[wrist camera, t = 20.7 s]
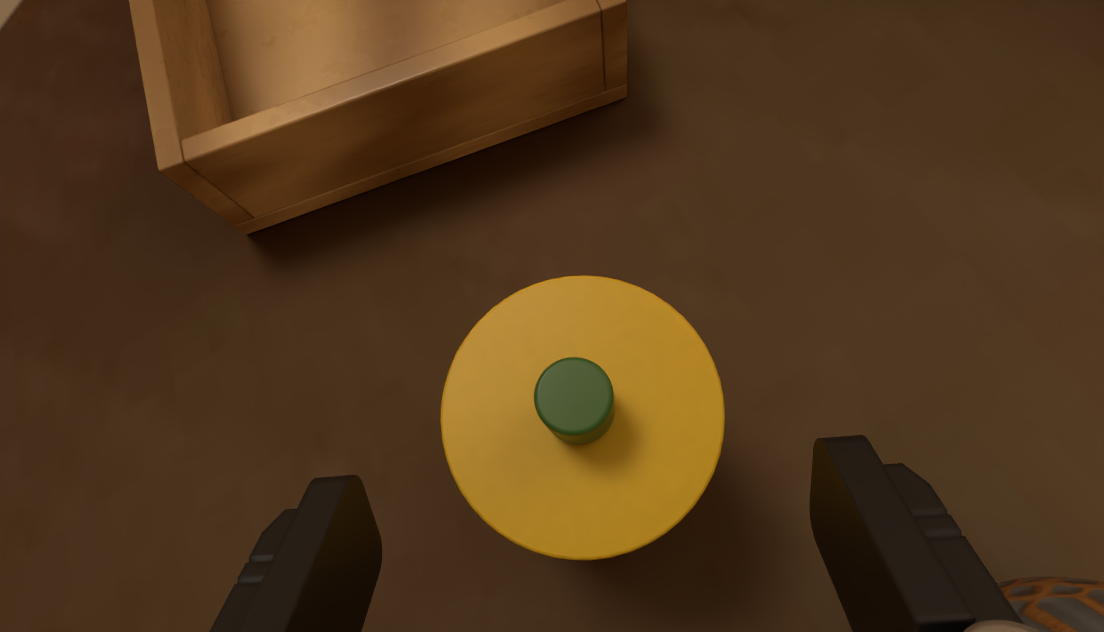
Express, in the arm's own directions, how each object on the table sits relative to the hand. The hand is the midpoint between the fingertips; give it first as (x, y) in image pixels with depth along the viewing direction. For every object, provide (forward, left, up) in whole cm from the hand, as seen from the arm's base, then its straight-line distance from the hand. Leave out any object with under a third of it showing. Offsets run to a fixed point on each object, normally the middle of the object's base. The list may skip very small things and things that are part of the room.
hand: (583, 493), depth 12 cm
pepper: (0, +2, -9) cm, 9 cm away
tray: (-2, +20, -9) cm, 22 cm away
